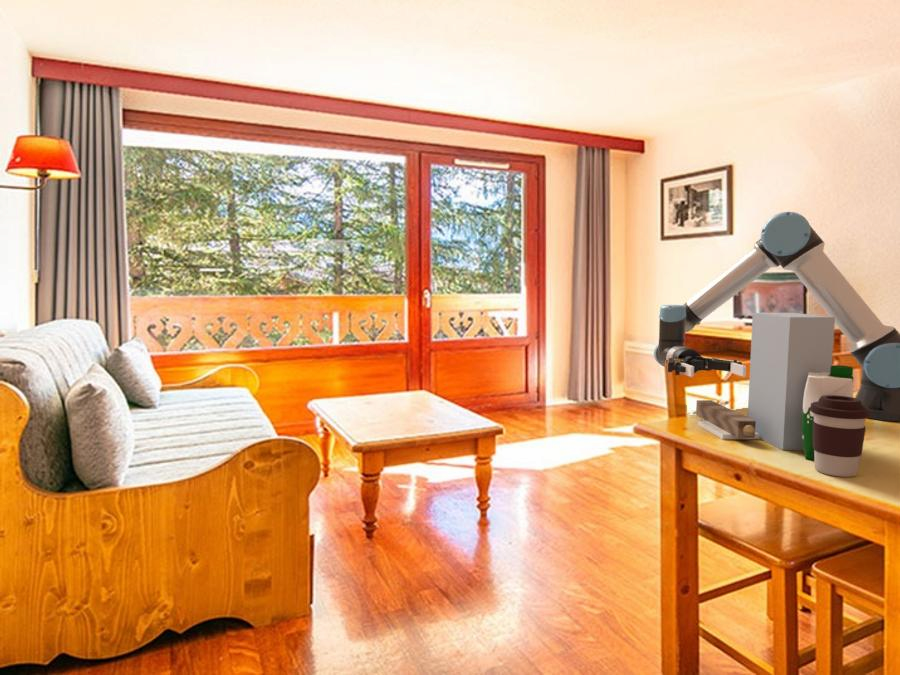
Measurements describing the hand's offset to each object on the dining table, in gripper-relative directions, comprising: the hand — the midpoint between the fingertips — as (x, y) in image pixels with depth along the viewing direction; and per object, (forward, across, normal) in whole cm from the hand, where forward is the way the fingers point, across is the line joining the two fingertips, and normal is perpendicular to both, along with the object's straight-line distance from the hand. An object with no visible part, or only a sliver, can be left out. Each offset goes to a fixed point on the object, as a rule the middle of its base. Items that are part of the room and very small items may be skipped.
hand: (718, 371), depth 157 cm
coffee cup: (+37, -7, -15) cm, 40 cm away
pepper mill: (+4, 0, -13) cm, 14 cm away
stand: (+14, -10, -14) cm, 22 cm away
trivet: (+5, 0, -14) cm, 15 cm away
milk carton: (+27, -11, -15) cm, 33 cm away
